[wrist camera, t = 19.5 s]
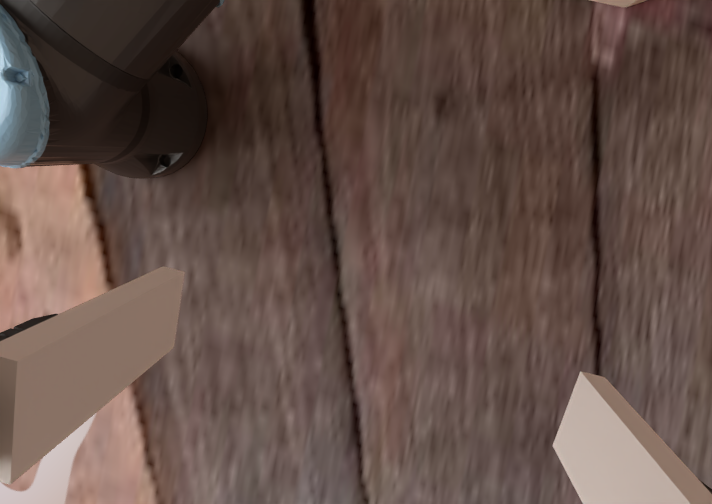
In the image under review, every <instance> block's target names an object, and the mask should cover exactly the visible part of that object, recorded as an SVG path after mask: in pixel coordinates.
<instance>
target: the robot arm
mask: <svg viewBox="0 0 712 504" xmlns="http://www.w3.org/2000/svg"><path fill="white" fill-rule="evenodd" d="M223 2H224V0H0V166H3V167H10V168H23V167H28V166H50V165H73V164H96V165H98V166H100V167H102V168H104V169H106V170H108V171H110V172H112V173H115V174H117V175H121V176H124V177H129V178H155V177H161V176H165V175H168V174H171V173H173V172H175V171H177V170H178V169H180V168H181V167H183V166H184V165H185V164H187V163H188V162H189V161H190V160H191V158H192V157H193V156H194V155H195V153H196V152H197V150H198V149H199V147H200V145H201V142H202V140H203V137H204V134H205V130H206V125H207V103H206V98H205V93H204V90H203V87H202V85H201V82H200V80H199V78H198V76H197V74H196V72H195V71H194V69H193V68H192V67H191V65H190V64H189V63H188V62H187V60H186V59H185V58H184V57H183V56H182V55H180V54H179V53H178V52H177V51H176V50H177V49H178V48H179V47H180V46H181V45H182V44H183V43H184V41H185V40H186V39H187V38H188V37H189V36H190V35H191V34H192V32H193V31H194V30H195V29H196V28H197V27H198V26H199V25H200V24H201V22H202V21H203V20H204V19H205V18H206V17H207V16H208V15H209V14H210V12H211V11H212V10H213V9H214V8H215V7H220V6H221V5H222V4H223ZM184 274H185V272H183V271H179V270H175V269H171V268H167V267H161V268H158V269H156V270H154V271H152V272H150V273H148V274H145V275H143V276H141V277H139V278H137V279H135V280H132V281H130V282H128V283H126V284H124V285H121V286H119V287H117V288H115V289H113V290H111V291H108V292H106V293H104V294H102V295H100V296H98V297H95V298H93V299H91V300H89V301H87V302H85V303H82V304H80V305H78V306H76V307H74V308H72V309H69V310H67V311H65V312H63V313H61V314H59V315H58V314H52V315H48V316H43V317H38V318H34V319H31V320H29V321H26V322H24V323H22V324H19V325H17V326H15V327H14V329H11V328H10V329H8V330H6V331H4V332H1V333H0V482H2V483H6V484H12V483H13V482H14V481H15V480H16V479H18V478H19V477H20V476H21V475H22V474H24V473H25V472H26V471H27V470H28V469H30V468H31V467H32V466H33V465H34V464H35V463H37V462H38V461H39V460H40V459H41V458H43V457H44V456H45V455H46V454H47V453H49V452H50V451H51V450H52V449H53V448H55V447H56V446H57V445H58V444H59V443H61V442H62V441H63V440H64V439H65V438H66V437H68V436H69V435H70V434H71V433H72V432H74V431H75V430H76V429H77V428H78V427H79V426H81V425H82V424H83V423H84V422H86V421H87V420H88V419H89V418H90V417H92V416H93V415H94V414H95V413H96V412H98V411H99V410H100V409H101V408H102V407H103V406H105V405H106V404H107V403H108V402H109V401H111V400H112V399H113V398H114V397H115V396H117V395H118V394H119V393H120V392H121V391H123V390H124V389H125V388H126V387H127V386H129V385H130V384H131V383H132V382H133V381H134V380H136V379H137V378H138V377H139V376H140V375H142V374H143V373H144V372H145V371H146V370H148V369H149V368H150V367H151V366H152V365H154V364H155V363H156V362H157V361H158V360H160V359H161V358H162V357H163V356H164V355H165V354H167V353H168V352H169V351H170V350H171V349H173V348H174V344H175V337H176V330H177V323H178V316H179V309H180V302H181V295H182V288H183V281H184ZM553 447H554V449H555V451H556V453H557V455H558V457H559V459H560V461H561V463H562V465H563V467H564V468H565V470H566V472H567V474H568V476H569V478H570V480H571V482H572V484H573V486H574V488H575V490H576V491H577V493H578V495H579V497H580V499H581V501H582V503H583V504H712V489H711V488H709V487H708V486H707V485H705V484H704V483H703V482H701V481H700V480H699V479H698V478H697V477H696V476H695V475H694V474H693V473H692V472H691V471H690V470H689V469H688V468H687V466H686V465H685V464H684V463H683V462H682V461H681V460H680V459H679V458H678V457H677V456H676V455H675V453H674V452H673V451H672V450H671V449H670V448H669V447H668V446H667V445H666V444H665V443H664V441H663V440H662V439H661V438H660V437H659V436H658V435H657V434H656V433H655V432H654V431H653V429H652V428H651V427H650V426H649V425H648V424H647V423H646V422H645V421H644V420H643V419H642V417H641V416H640V415H639V414H638V413H637V412H636V411H635V410H634V409H633V408H632V407H631V406H630V404H629V403H628V402H627V401H626V400H625V399H624V398H623V397H622V396H621V395H620V394H619V392H618V391H617V390H616V389H615V388H614V387H613V386H612V385H611V384H610V383H609V382H608V380H607V379H606V378H605V377H601V376H597V375H593V374H589V373H585V372H581V371H580V374H579V377H578V379H577V382H576V385H575V387H574V390H573V393H572V395H571V398H570V401H569V403H568V406H567V409H566V411H565V414H564V417H563V419H562V422H561V425H560V427H559V430H558V433H557V435H556V438H555V441H554V443H553Z"/></svg>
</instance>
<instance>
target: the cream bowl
mask: <svg viewBox="0 0 712 504" xmlns="http://www.w3.org/2000/svg"><path fill="white" fill-rule="evenodd" d="M590 1H595V2H600V3H604V4H609V5H614V6H619V7H623V8H624V7H629V6H632V5H635V4H638V3H641V2H644V1H647V0H590Z"/></svg>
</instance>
